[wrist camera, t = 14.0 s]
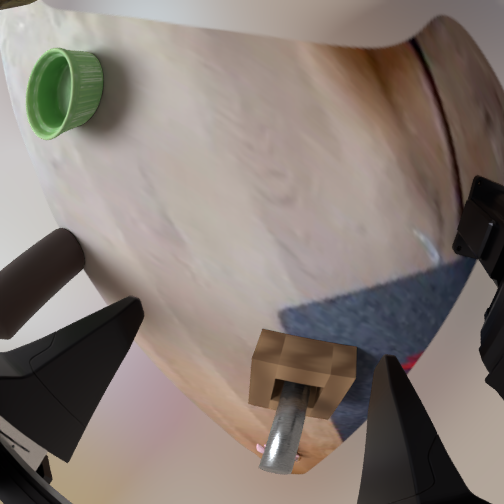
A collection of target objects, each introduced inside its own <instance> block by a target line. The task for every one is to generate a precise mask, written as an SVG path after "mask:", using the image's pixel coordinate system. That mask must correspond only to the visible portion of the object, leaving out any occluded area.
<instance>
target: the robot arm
mask: <svg viewBox="0 0 504 504" xmlns="http://www.w3.org/2000/svg"><path fill="white" fill-rule="evenodd" d="M479 180H480V184H479V185H478V181H479ZM457 230H458V232H457V235H456V237H455V240H454V243H453V246H452V249H453V250H454V252H455V253H456V254H459V255H463V256H467V257H471V258H475V259H479V261H480V262H481V264H482V265H483V267H484V269H485V270H486V272H487V273H488V275H489V276H490V278H491V279H493V281H494V283H495V284H496V286H497V287H498V289H497V292H496V294H495V296H494V298H493V301H492V303H491V305H490V307H489V308H487V310H486V312H485V314H484V317H485V318H484V319H485V322H484V324H483V327H482V329H481V346H480V348H479V352H480V355H481V359H482V361H483V363H484V365H485V367H486V369H487V370H488V372H489V374H488V376H487V377H486V378H485V382H486V383H487V384H488V385H489V386H491V387H492V388H493V389H495V390H496V391H497V392H498V393H499V395H500V396H501V397H502V398H503V400H504V186H503V185H501V184H498V183H496V182H494V181H491V180H489V179H487V178H484V177H482V176H479V175H477V176H475V177H474V179H473V183H472V187H471V190H470V194H469V198H468V200H467V201H466V204H465V207H464V211H463V214H462V217H461V220H460V223H459V226H458V229H457ZM458 246H460V247H459V248H458V249H456V248H457V247H458ZM143 319H144V311H143V307H142V304H141V301H140V299H139V298H137V297H134V296H128V297H126V298H124V299H122V300H120V301H118V302H116V303H113V304H111V305H109V306H107V307H105V308H103V309H101V310H99V311H97V312H95V313H93V314H91V315H89V316H87V317H84V318H82V319H80V320H78V321H76V322H74V323H72V324H70V325H68V326H66V327H64V328H62V329H60V330H58V331H57V332H54V333H52V334H50V335H47V336H45V337H43V338H41V339H39V340H36V341H34V342H31V343H29V344H27V345H24V346H21V347H19V348H16V349H14V350H11V351H8V352H0V500H1V501H2V502H3V503H4V504H72V503H71V502H70V501H68V500H67V499H66V498H65V497H64V496H62V495H61V494H60V493H59V492H57V491H56V490H55V489H54V488H53V487H51V486H50V485H49V484H50V482H51V481H52V474H51V471H50V466H49V460H48V456H47V455H46V454H47V452H50V453H51V454H53V455H55V456H56V457H58V458H60V459H61V460H63V461H65V462H66V463H68V462H69V461H70V459H71V457H72V455H73V452H74V450H75V449H76V447H77V445H78V442H79V440H80V439H81V437H82V434H83V433H84V431H85V428H86V426H87V425H88V423H89V421H90V419H91V417H92V415H93V413H94V411H95V409H96V407H97V406H98V404H99V402H100V400H101V398H102V396H103V395H104V393H105V391H106V389H107V387H108V386H109V384H110V382H111V380H112V379H113V377H114V375H115V373H116V371H117V370H118V368H119V366H120V364H121V363H122V361H123V359H124V358H125V356H126V354H127V352H128V350H129V349H130V347H131V344H132V342H133V340H134V338H135V336H136V334H137V332H138V330H139V327H140V325H141V323H142V321H143ZM357 504H491V503H489V502H487V501H485V500H483V499H481V498H479V497H477V496H476V495H474V494H473V493H472V492H471V491H470V490H469V489H468V487H467V486H466V484H465V483H464V481H463V479H462V478H461V476H460V474H459V472H458V471H457V469H456V467H455V466H454V464H453V462H452V461H451V459H450V457H449V455H448V453H447V451H446V449H445V447H444V445H443V443H442V442H441V439H440V437H439V435H438V434H437V432H436V429H435V427H434V425H433V423H432V421H431V419H430V417H429V416H428V414H427V412H426V410H425V408H424V406H423V404H422V402H421V400H420V398H419V396H418V395H417V393H416V391H415V389H414V387H413V386H412V384H411V382H410V380H409V379H408V377H407V375H406V373H405V371H404V370H403V368H402V366H401V364H400V363H399V361H398V359H397V358H396V356H394V355H387V354H385V355H383V357H382V358H381V360H380V361H379V363H378V365H377V366H376V368H375V370H374V375H373V382H372V390H371V396H370V403H369V409H368V419H367V433H366V444H365V454H364V462H363V470H362V477H361V484H360V490H359V496H358V501H357Z"/></svg>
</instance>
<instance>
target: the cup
mask: <svg viewBox="0 0 504 504" xmlns="http://www.w3.org/2000/svg"><path fill="white" fill-rule="evenodd" d="M35 1H37V0H0V10H3V9H8V8H13V7H18V6H23V5H27V4H30V3H33V2H35Z"/></svg>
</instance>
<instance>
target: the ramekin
mask: <svg viewBox="0 0 504 504" xmlns="http://www.w3.org/2000/svg"><path fill="white" fill-rule="evenodd" d="M102 90H103V72H102V68H101V65H100V63H99V61H98V59H97V58H96V57H95V56H94V55H93V54H91V53H88V52H83V51H71V50H65V49H62V48H53V49H50V50H48V51H47V52H45V53H44V54H43V55H42V56H41V57H40V58H39V60H38V61H37V62H36V64H35V66H34V68H33V70H32V72H31V75H30V78H29V81H28V85H27V91H26V112H27V117H28V121H29V124H30V126H31V128H32V130H33V131H34V133H35V134H36V135H37V136H38V137H39V138H41V139H44V140H51V139H53V138H55V137H57V136H59V135H60V134H61V133H63V132H65V131H68V130H70V129H73V128H75V127H78V126H80V125H82V124H84V123H85V122H87V121H88V120H89V119H90V118H91V117H92V115H93V114H94V113H95V111H96V109H97V107H98V105H99V102H100V99H101V95H102Z"/></svg>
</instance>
